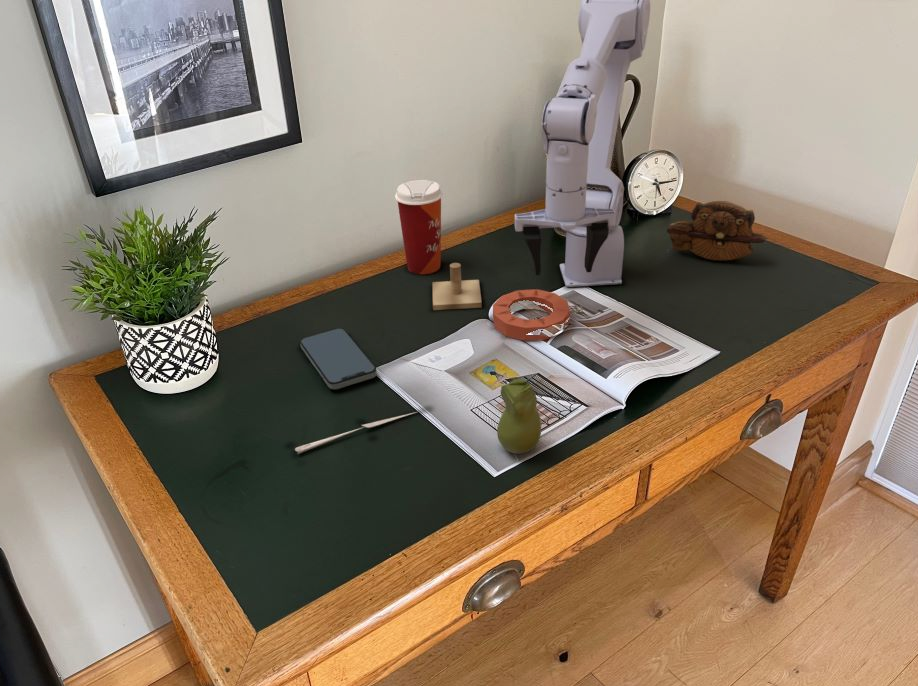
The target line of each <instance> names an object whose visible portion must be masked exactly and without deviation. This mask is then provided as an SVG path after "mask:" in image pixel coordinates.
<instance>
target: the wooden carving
mask: <svg viewBox="0 0 918 686" xmlns="http://www.w3.org/2000/svg"><path fill="white" fill-rule="evenodd" d="M690 217H691V220H692V221H688V220H678V221H676V222H672V223H670V224H669V226H668V227H667V229H666V233H667V234H669V239H670V240H671V247H672V248H671V249H673V250H676V251H686V250H689V251H691V252H692V253H693V254H694V255H696V256H698V257H700V258H704V259H706V260H711V261H721V262H722V261H734V260H737V259H741V258H745V257H747V256H749V255H751V254H754V252H755V250H756V248H755V247H754V246H752V244H763V243H764V242H765V241H766V240H767V239H768V237H767V236H766V235H765V234H763V233H759V232H758V233H757V232H754V231H753V228H752V227H753V225H754V223H755V220H756V218H755V212H754V210H753V209H749V210H747V209H746V208H745V207H743V206H742V205H739V204H736V203H733V202H731V201H728V200H727V201H726V200H713V201H708V202H705V203H702V202H700V201H698V202H697V203H696V205H695V206H694V208H693V209H692V212H691V215H690Z"/></svg>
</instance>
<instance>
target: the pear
mask: <svg viewBox="0 0 918 686" xmlns="http://www.w3.org/2000/svg"><path fill="white" fill-rule="evenodd" d="M500 396H501V398H502V401H503V402H504V405H505V408H504V410H503V412H502V413H501V416H500V418H499V421H498V424H497V429H496V435H497V439H498V442H499V444H500V445H501V446H502V448H504V449H505V451H507V452H510V453H511V454H518V455H521V454H526V453H528V452H530V451H532V450H533V449H535V447H536V446H537V445H538V443H539V442H540V439H541V435H542V421H541V416H540V411H539V408H537V404H538V397H537V394H536V391H534V389H533V388H532V385H531V383H530V381H526V380H525V379H521V378H515V379H513V380H512V381H510V382H507V383H505V384H503V385H501V388H500Z"/></svg>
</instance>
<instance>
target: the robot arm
mask: <svg viewBox="0 0 918 686" xmlns="http://www.w3.org/2000/svg"><path fill="white" fill-rule="evenodd" d="M650 15H651V0H581V2H580V6H579V11H578V21H577V22H578V23H577V24H578V26H577V27H578V32H579V36H580V40H581V44H582V45H581V48H580V49H581V50H580V53H579V57H577V58H575V59H574V60H572V61H571V62H570V63H569V64H568V66H567V68H566V71H565V72H564V75H563V78H562V81H561V83H560V86H559V88H558V90H557V93H556V96H554V97H553V98H552V99H551V100H547V101H546V103H545V104H544V107H543V111H542V115H541V136H542V140H543V154H545V155H546V171H545V173H546V174H545V175H546V176H545V208H543V209H538V210H533V211H529V212H524V213H515V214H514V230H515V232H522V235H523V236H522V237H523V238H524V241H525V243H526V245H527V247H528V250H529V252H530V254H531V258H532V261H533V270H534V274H535V276H541V273H542V272H541V269H542V267H541V246H542V237H541V231H540V229H550V228H551V229H552V228H553V229H554V228H560V229H561V230H563V231H566V232H565V233H566V234H565V253H564V255H565V258H564V260H565V261H564V263H560V264H559V269H560V273H561V276H562V279H563V282H564V285H565V287H567V288H573V287H574V288H576V287H591V286H593V287H594V286H607V285H608V286H610V285H611V286H613V285H621V284H622V283H623V280H622V274H623V262H624V254H625V253H624V252H625V235H624V231H623V227H622V226H621V225H620V222H621V218H622V214H623V207H624V193H625V192H624V191H625V186H624V183H623V181H622V180H621V179H620V177H619V176H617V175H616V174H615V173H614V171H612V170H611V166H612V160H613V153H614V148H615V142H616V136H617V130H618V125H619V119H620V112H621V108H622V107H621V106H622V101H623V96H624V95H623V94H624V89H625V83H626V78H627V75H628V72H629V69H630V66H631V64H632V63H633V62H634V61H635V60H638V59H640V58H642V56H643V51H644V50H645V47H646V41H647V35H648V30H649V25H650V18H651V17H650ZM597 188H598V189H597Z"/></svg>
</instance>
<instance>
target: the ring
mask: <svg viewBox="0 0 918 686" xmlns="http://www.w3.org/2000/svg"><path fill="white" fill-rule="evenodd" d="M523 300H525V301H526V300H529V301H535V302H539V303H541V304H545V305H547V306H548V307H550V308H552V309H553V312H552V311H551V310H550V309H548V308H547V307H545V306H541V305H538V306H539V307H540V308H542V309H544V310H545V311H547V312H549V313H551V314H550V315H549V314H548V315H547V316H544V317H541V318H532V319H531V318H529V319H527V318H522V317H518V316H515V315H514V313H513V314H511V312H509V308H510V306H511V305H512V304H513V303H515V302H518V301H523ZM535 305H536V304H535ZM569 317H570V319H569V320H568V322H567V323H566V324H565V325H568V326H570V324H571V309H570V305H569V301H568V300H567V299H566V298H563V297H562V296H560V295H559V294H557V293H555V292H551V291H546V290H542V289H537V288H536V289H518V290H514V291H512V292H509V293H506V294H503V295H500V297H499V298H498V299H497V300H496V301H495V302H494V303H493V304H492V319H493V327H494V329H495V330H497V332H499V333H500V334H502V335H503V336H505V337H507V338H510V339H515V340H519V341H523V342H529V341H530V342H531V341H546V340H549V339H550V338H549V337H548V336H547V337H546V336H543V335H542V336H541V335H526V334H528V333H530V332H533V331H536V330H538V329H542V328H544V329H545V328H548V327H550V326H552V325H555V324H562V323H564V322H565V321H566V320H567V319H568V318H569Z"/></svg>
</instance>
